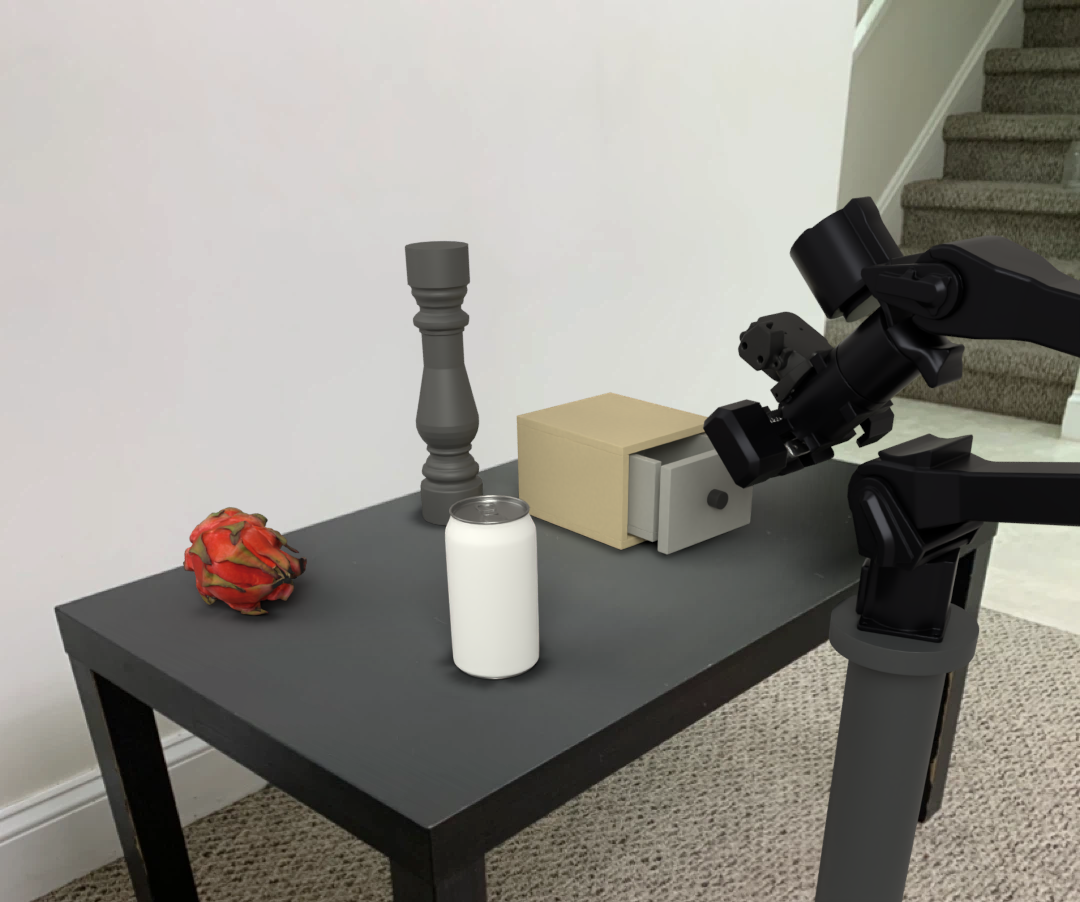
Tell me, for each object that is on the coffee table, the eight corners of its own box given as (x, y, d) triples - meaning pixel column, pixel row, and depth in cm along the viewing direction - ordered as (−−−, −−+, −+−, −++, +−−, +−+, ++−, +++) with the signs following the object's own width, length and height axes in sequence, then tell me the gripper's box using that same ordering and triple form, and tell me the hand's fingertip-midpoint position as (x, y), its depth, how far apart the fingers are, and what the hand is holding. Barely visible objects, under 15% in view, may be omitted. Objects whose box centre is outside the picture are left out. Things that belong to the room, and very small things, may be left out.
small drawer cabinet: (712, 516, 108) (718, 419, 103) (621, 550, 101) (623, 447, 96) (609, 482, 117) (610, 392, 112) (519, 510, 110) (516, 415, 105)
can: (463, 687, 79) (453, 529, 72) (445, 648, 84) (435, 498, 78) (549, 674, 80) (546, 518, 74) (527, 637, 85) (522, 488, 79)
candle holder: (496, 510, 110) (485, 242, 98) (460, 529, 106) (444, 251, 93) (446, 500, 113) (429, 239, 100) (410, 518, 109) (387, 247, 96)
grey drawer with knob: (760, 526, 103) (767, 444, 99) (677, 558, 96) (681, 472, 92) (647, 489, 112) (650, 413, 108) (565, 516, 106) (564, 436, 102)
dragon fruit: (216, 594, 97) (299, 651, 91) (139, 567, 90) (223, 627, 84) (258, 509, 97) (345, 561, 90) (184, 475, 89) (272, 529, 83)
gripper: (883, 267, 88) (763, 382, 101) (731, 297, 78) (619, 421, 91) (954, 383, 87) (823, 484, 100) (809, 430, 77) (684, 536, 90)
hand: (740, 479), depth 95 cm, fingers closed
